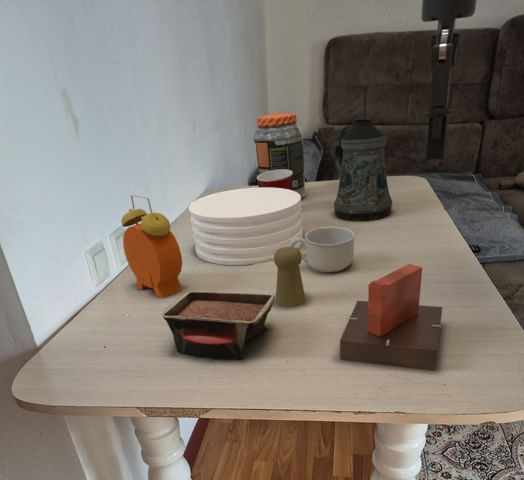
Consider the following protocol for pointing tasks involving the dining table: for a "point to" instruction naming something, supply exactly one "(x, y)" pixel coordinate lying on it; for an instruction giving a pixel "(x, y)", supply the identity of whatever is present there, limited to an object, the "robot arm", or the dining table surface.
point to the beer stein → (361, 173)
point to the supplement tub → (280, 148)
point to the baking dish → (217, 322)
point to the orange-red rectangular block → (393, 299)
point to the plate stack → (245, 224)
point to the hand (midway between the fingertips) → (434, 158)
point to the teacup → (327, 248)
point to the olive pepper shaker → (289, 277)
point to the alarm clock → (152, 251)
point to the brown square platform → (393, 340)
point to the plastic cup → (276, 179)
